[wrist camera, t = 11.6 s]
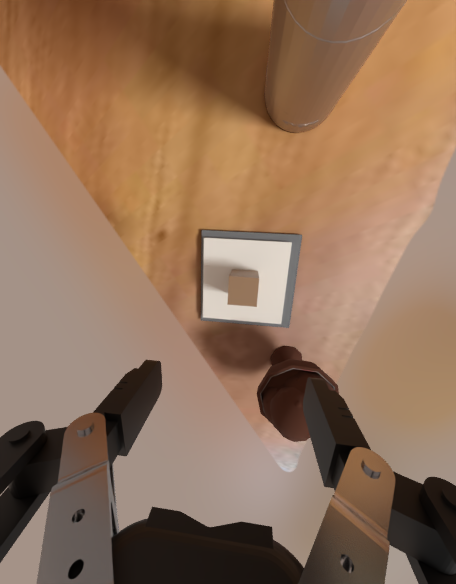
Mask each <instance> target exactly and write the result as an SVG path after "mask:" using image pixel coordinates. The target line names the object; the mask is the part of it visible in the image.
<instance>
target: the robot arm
mask: <svg viewBox="0 0 456 584" xmlns="http://www.w3.org/2000/svg"><path fill="white" fill-rule="evenodd" d="M406 1H407V0H274V2H273V12H272V22H271V32H270V42H269V52H268V62H267V71H266V82H265V93H264V95H265V104H266V108H267V111H268V113H269V115H270V117H271V119H272V120H273V121H274V122H275V124H276V125H278V126H279V127H280V128H282V129H283V130H286V131H288V132H295V133H299V132H305V131H308V130H311V129H313V128H314V127H316V126H318V125H319V124H320V123H321V122H323V121H324V120H325V119H326V118H327V116H328V115H329V114H330V112H331V111H332V110H333V108H334V107H335V105H336V104H337V102H338V101H339V99H340V98H341V96H342V95H343V94H344V92H345V91H346V89H347V88H348V86H349V85H350V83H351V82H352V80H353V79H354V78H355V76H356V75H357V73H358V72H359V70H360V69H361V67H362V66H363V64H364V63H365V61H366V60H367V58H368V57H369V55H370V54H371V53H372V51H373V50H374V48H375V47H376V45H377V44H378V42H379V41H380V39H381V38H382V36H383V35H384V33H385V32H386V31H387V29H388V28H389V26H390V25H391V23H392V22H393V20H394V19H395V17H396V16H397V14H398V13H399V11H400V10H401V8H402V7H403V6H404V4H405V3H406ZM161 389H162V374H161V362H160V361H153V360H146V361H144V363H143V364H142V365H141V366H140V367H139V369H137V368H134V369H133V370H132V371H130V372H128V373H127V374H125V376H124V377H123V378H122V379H121V380H120V382H119V383H118V384H117V385H116V386H115V388H114V389H113V390H112V391H111V392H110V393H109V394H108V396H107V397H106V398H105V399H104V400H103V401H102V403H101V404H100V405H99V406H98V407H97V409H96V410H95V411H94V412H93V413H89V414H86V415H83V416H81V417H79V418H77V419H76V420H74V421H73V422H72V423H71V424H70V425H69V426H68V427H64V428H58V429H52V430H46V431H45V427H44V425H43V423H42V422H39V421H31V422H26V423H23V424H21V425H18V426H16V427H14V428H13V429H11V430H9V431H8V432H6V433H5V434H4V435H3V436H2V437H0V494H1V493H2V492H3V491H4V490H5V489H6V488H7V486H9V487H8V488H7V489H6V490H5V492H4V493H3V494H2V495H1V496H0V562H1V561H2V560H3V558H4V557H5V555H6V554H7V553H8V551H9V550H10V548H11V547H12V545H13V544H14V543H15V541H16V540H17V538H18V537H19V536H20V534H21V533H22V531H23V530H24V528H25V527H26V526H27V524H28V523H29V521H30V520H31V518H32V517H33V516H34V514H35V513H36V511H37V510H38V509H39V507H40V506H41V504H42V503H43V501H44V500H45V499H46V497H47V496H48V494H49V493H50V492H51V493H50V499H49V507H48V512H47V519H46V525H45V532H44V539H43V545H42V552H41V558H40V565H39V572H38V578H37V584H385V576H386V569H387V562H388V555H389V545H391V546H393V547H395V548H397V549H399V550H400V551H403V552H404V553H406V555H407V558H408V560H409V562H410V564H411V567H412V569H413V572H414V574H415V576H416V579H417V581H418V583H419V584H456V486H455V485H453V484H452V483H450V482H448V481H446V480H443V479H441V478H437V477H429V478H427V479H426V480H425V482H424V484H421V483H418V482H416V481H413V480H411V479H409V478H407V477H404V476H402V475H400V474H397V473H395V472H393V471H392V469H391V467H390V466H389V465H388V463H387V462H386V461H385V460H384V459H383V458H382V457H381V456H379V455H378V454H376V453H375V452H373V451H371V449H370V447H369V445H368V443H367V441H366V440H365V438H364V436H363V434H362V432H361V430H360V429H359V427H358V425H357V423H356V421H355V419H354V418H353V416H352V414H351V412H350V410H349V408H348V406H347V404H346V403H345V401H344V399H343V398H342V397H341V396H340V395H339V394H338V393H337V392H336V391H333V390H329V388H328V386H327V384H326V382H325V380H324V379H320V378H310V377H309V378H308V379H307V383H306V388H305V394H304V399H303V412H304V416H305V420H306V423H307V427H308V430H309V434H310V437H311V441H312V444H313V448H314V452H315V455H316V459H317V462H318V466H319V469H320V473H321V476H322V480H323V483H324V486H325V487H330V488H334V490H335V493H334V495H333V496H332V498H331V501H330V503H329V506H328V508H327V511H326V514H325V516H324V518H323V521H322V524H321V526H320V529H319V532H318V534H317V537H316V539H315V542H314V545H313V547H312V550H311V552H310V555H309V558H308V560H307V563H306V565H305V568H303V566H302V565H301V563H299V561H298V560H297V559H296V558H295V557H294V555H292V554H291V553H290V552H289V551H288V550H287V549H286V548H285V547H283V546H282V545H281V544H279V543H278V542H276V541H274V540H273V535H272V527H270V526H264V525H258V524H252V523H246V522H238V523H232V524H227V525H221V526H216V527H207V526H205V525H203V524H201V523H200V522H198V521H196V520H194V519H193V518H191V517H189V516H187V515H186V514H184V513H182V512H180V511H174V510H168V509H162V508H156V507H152V509H151V512H150V514H149V517H148V519H144V520H141V521H138V522H136V523H133V524H131V525H129V526H128V527H126V528H124V529H123V530H121V531H120V532H119V526H118V519H117V508H116V496H115V484H114V472H113V462H114V460H115V459H116V457H117V455H121V456H127V455H128V453H129V451H130V449H131V447H132V445H133V443H134V442H135V440H136V438H137V436H138V434H139V432H140V431H141V429H142V427H143V425H144V423H145V421H146V420H147V418H148V416H149V414H150V412H151V410H152V409H153V407H154V405H155V403H156V401H157V399H158V397H159V395H160V393H161Z"/></svg>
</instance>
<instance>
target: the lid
mask: <svg viewBox="0 0 456 584" xmlns="http://www.w3.org/2000/svg"><path fill="white" fill-rule="evenodd" d="M291 246H292V242H278V241H260V240H241V239H223V238H204V260H203V318H215V319H226V320H238V321H249V322H261V323H272V324H281V322H282V314H283V307H284V299H285V292H286V284H287V277H288V269H289V261H290V254H291Z"/></svg>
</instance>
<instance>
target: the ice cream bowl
mask: <svg viewBox="0 0 456 584" xmlns="http://www.w3.org/2000/svg"><path fill="white" fill-rule="evenodd" d="M271 361H272V366H271V367H270V369H269V370H268V372H267V373H266V375H265V377H264V378H263V380H262V382H261V383H260V385H259V386H258V391H257V397H258V402H259V407H260V412H261V414H262V415H263V416H264V417H266V418H267V419H268V420H269V422H271V423H272V424H273V425H274V427H275V428H276V429H277V430H278V431H279V432H280V433H281V434H282V436H283V437H285V438H287V439H289V440H291V441H294V442H297V441H306V440H307V439H308V438H311V437H310V434H309V430H308V427H307V423H306V420H305V416H304V412H303V399H304V394H305V388H306V383H307V379H308V378H309V377H310V378H320V379H324V380H325V382H326V384H327V386H328V388H329V390H333V391H336V392H337V393H338V394H339V392H338V385H337V384H336V383H335V382H334V381H333V380H332V379H331V378H330V377H329V376H328V375H327V374H326V373H325V372H323V371H322V370H321V369H320V368H319V367H318V366H317V365H316V364H314V363H312V362H308V361H302V356H301V353H300V352H299V351H298V350H297V349H296V348H295V347H289V346H283V347H281V348H278V349H276V350H275V351H274V353H273V355H272V356H271Z"/></svg>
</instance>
